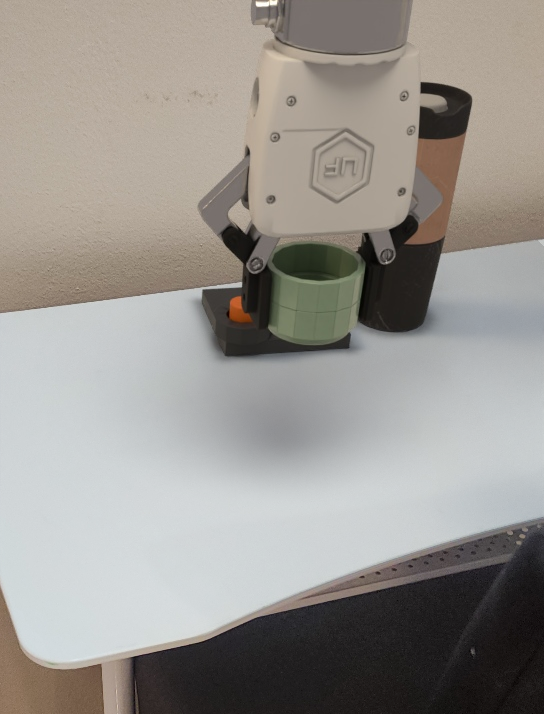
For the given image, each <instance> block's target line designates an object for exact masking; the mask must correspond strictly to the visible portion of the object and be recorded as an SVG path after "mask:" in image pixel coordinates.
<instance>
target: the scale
mask: <svg viewBox="0 0 544 714" xmlns="http://www.w3.org/2000/svg"><path fill="white" fill-rule="evenodd" d="M241 292H242V286H239V287H237V286H236V287H220V288H219V287H217V288H204V289H202V291H201V304H202V306H203V309H204V311H205V313H206V315H207V317H208V320H209V322H210V324H211V329H212V332H213V334H214V336H215V338H217V340H218V343H219V345H220V347H221V350H222V352H223V354H224V356H225V357H229V356H243V355H260V354H263V355H264V354H276V353H292V352H307V351H309V352H310V351H322V350H323V351H324V350H338V349H349V348H350V346H351V345H350V344H351V338H352V333H351V331H350V332H349V333H348V334H347V335H346V336H345V337H344V338H342V339H340V340H338V341H336V342H333V343H329V344H323V345H303V344H297V343H292V342H289V341H286V340H283V339H281V338H279V337H277V336H276V335H274V334H273V333H272V332H271V331H270V330H269V328H266V329H265V330H258V331H257V329H256V327H255V325H254V323H253V322H247V323H241V322H236V321H233V320H231V319H230V318H229V313H230V301H231V300H232V299H233V298H235V297H239V296H241Z"/></svg>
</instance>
